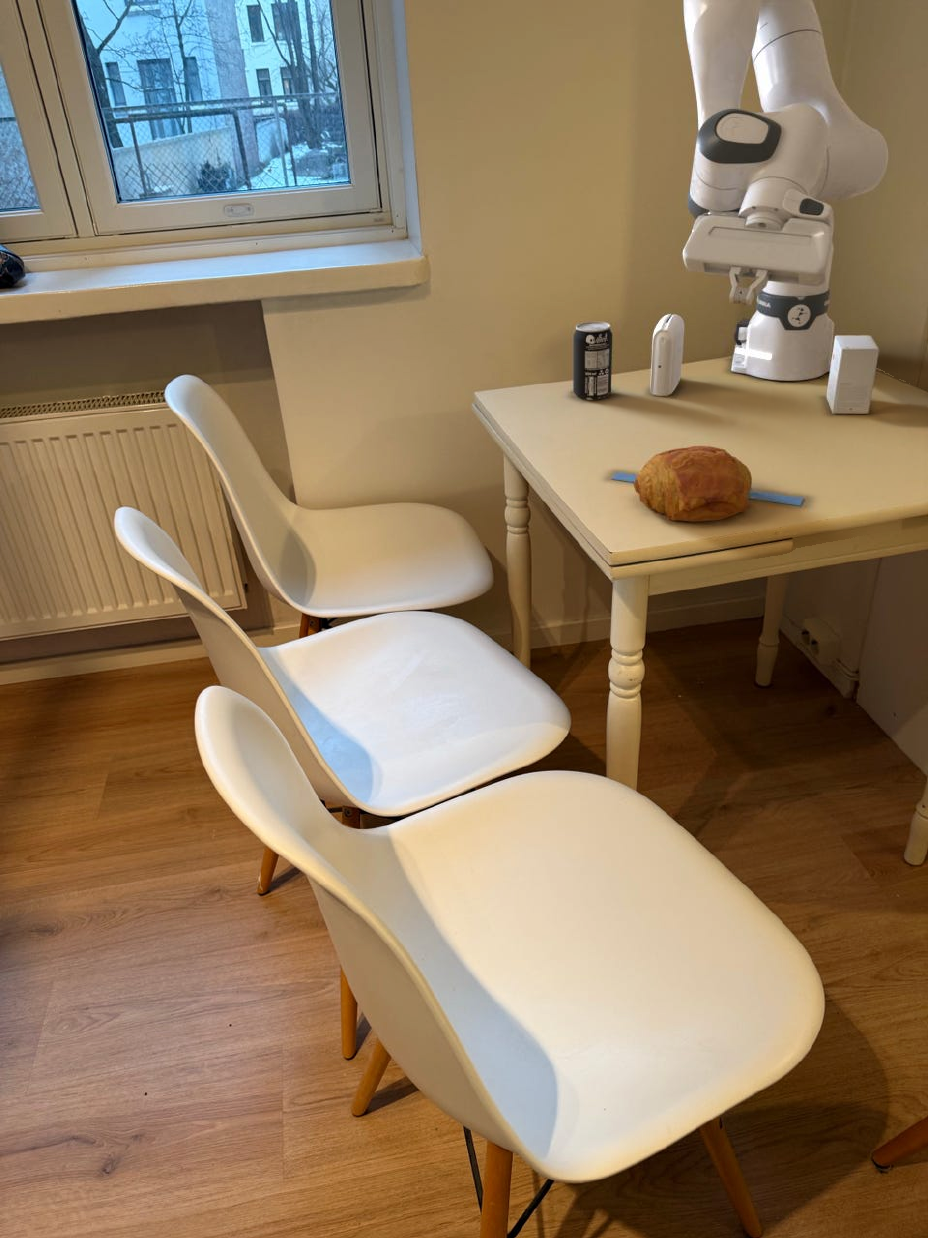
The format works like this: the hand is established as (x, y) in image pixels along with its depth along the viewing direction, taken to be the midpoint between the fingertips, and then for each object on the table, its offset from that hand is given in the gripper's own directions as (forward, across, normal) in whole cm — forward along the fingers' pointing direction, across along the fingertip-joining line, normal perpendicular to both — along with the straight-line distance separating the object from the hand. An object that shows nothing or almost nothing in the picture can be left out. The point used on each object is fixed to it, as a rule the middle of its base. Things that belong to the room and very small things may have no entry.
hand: (739, 301), depth 131 cm
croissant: (+30, +4, 0) cm, 31 cm away
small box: (-2, +14, +31) cm, 34 cm away
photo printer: (0, -16, +31) cm, 35 cm away
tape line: (+26, +3, +4) cm, 27 cm away
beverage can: (+6, -27, +26) cm, 38 cm away
